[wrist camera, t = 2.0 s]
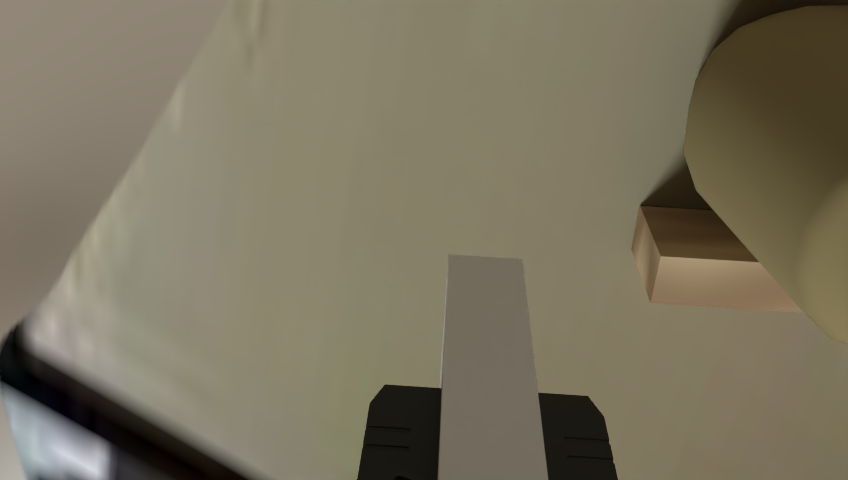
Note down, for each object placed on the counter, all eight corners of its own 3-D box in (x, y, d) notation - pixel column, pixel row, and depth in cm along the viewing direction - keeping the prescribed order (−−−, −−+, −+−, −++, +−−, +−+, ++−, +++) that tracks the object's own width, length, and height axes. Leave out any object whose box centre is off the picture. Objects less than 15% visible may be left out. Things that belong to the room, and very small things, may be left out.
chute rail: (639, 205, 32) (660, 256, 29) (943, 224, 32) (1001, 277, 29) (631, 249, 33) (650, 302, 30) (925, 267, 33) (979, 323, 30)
